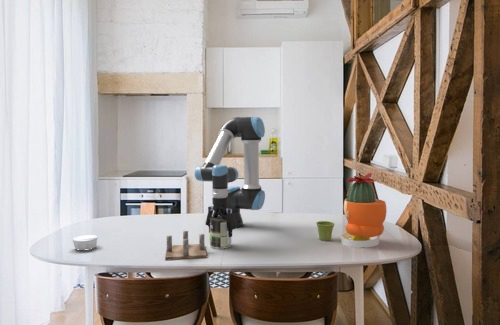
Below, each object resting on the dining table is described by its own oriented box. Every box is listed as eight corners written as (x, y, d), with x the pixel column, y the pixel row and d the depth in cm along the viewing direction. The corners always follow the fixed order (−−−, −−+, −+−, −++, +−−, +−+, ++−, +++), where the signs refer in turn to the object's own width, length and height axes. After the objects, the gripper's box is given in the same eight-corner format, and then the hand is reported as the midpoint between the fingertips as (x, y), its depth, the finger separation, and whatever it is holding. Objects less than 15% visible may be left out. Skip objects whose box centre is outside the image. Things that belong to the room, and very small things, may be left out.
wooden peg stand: (204, 246, 193) (204, 229, 192) (206, 257, 175) (206, 239, 174) (166, 248, 190) (166, 231, 189) (165, 259, 172) (164, 241, 171)
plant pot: (335, 237, 207) (335, 221, 206) (333, 242, 198) (333, 225, 198) (317, 236, 210) (317, 220, 209) (314, 241, 201) (314, 224, 201)
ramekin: (82, 253, 182) (82, 242, 182) (68, 249, 188) (67, 238, 188) (102, 247, 192) (102, 236, 191) (88, 243, 198) (88, 233, 197)
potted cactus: (333, 242, 199) (334, 174, 196) (360, 235, 213) (361, 171, 210) (368, 252, 182) (370, 177, 179) (396, 244, 195) (398, 174, 193)
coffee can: (209, 249, 187) (209, 220, 186) (210, 243, 198) (210, 215, 197) (231, 248, 188) (231, 219, 187) (230, 242, 198) (230, 215, 197)
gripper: (197, 195, 195) (198, 239, 196) (233, 200, 182) (233, 247, 183) (207, 193, 201) (208, 236, 202) (243, 197, 188) (243, 243, 189)
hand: (220, 241), depth 193 cm, fingers closed on coffee can, 10 cm apart
